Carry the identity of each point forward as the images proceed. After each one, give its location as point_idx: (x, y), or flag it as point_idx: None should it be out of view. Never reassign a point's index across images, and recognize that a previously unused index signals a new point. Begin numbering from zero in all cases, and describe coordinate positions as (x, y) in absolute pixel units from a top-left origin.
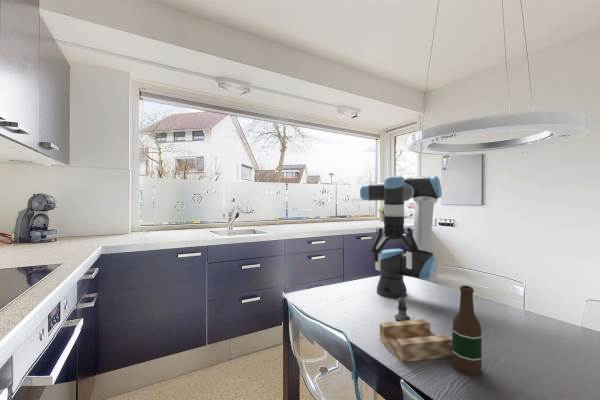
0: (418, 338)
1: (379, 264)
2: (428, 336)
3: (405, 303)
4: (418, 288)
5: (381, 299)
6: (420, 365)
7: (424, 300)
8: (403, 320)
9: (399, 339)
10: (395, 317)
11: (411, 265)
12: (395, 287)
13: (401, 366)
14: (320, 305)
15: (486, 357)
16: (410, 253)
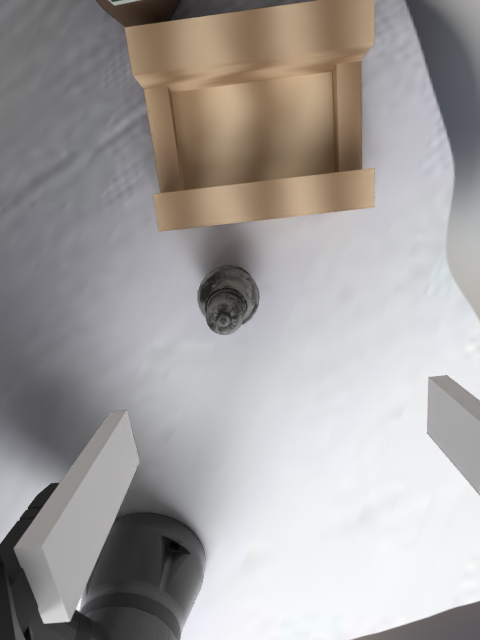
0: (276, 45)
1: (476, 406)
2: (223, 62)
3: (216, 299)
4: None
5: (212, 507)
6: None
7: None
8: (237, 269)
9: (362, 42)
10: (258, 297)
11: (101, 430)
12: (139, 555)
13: None
14: None
15: (31, 48)
16: (45, 535)
